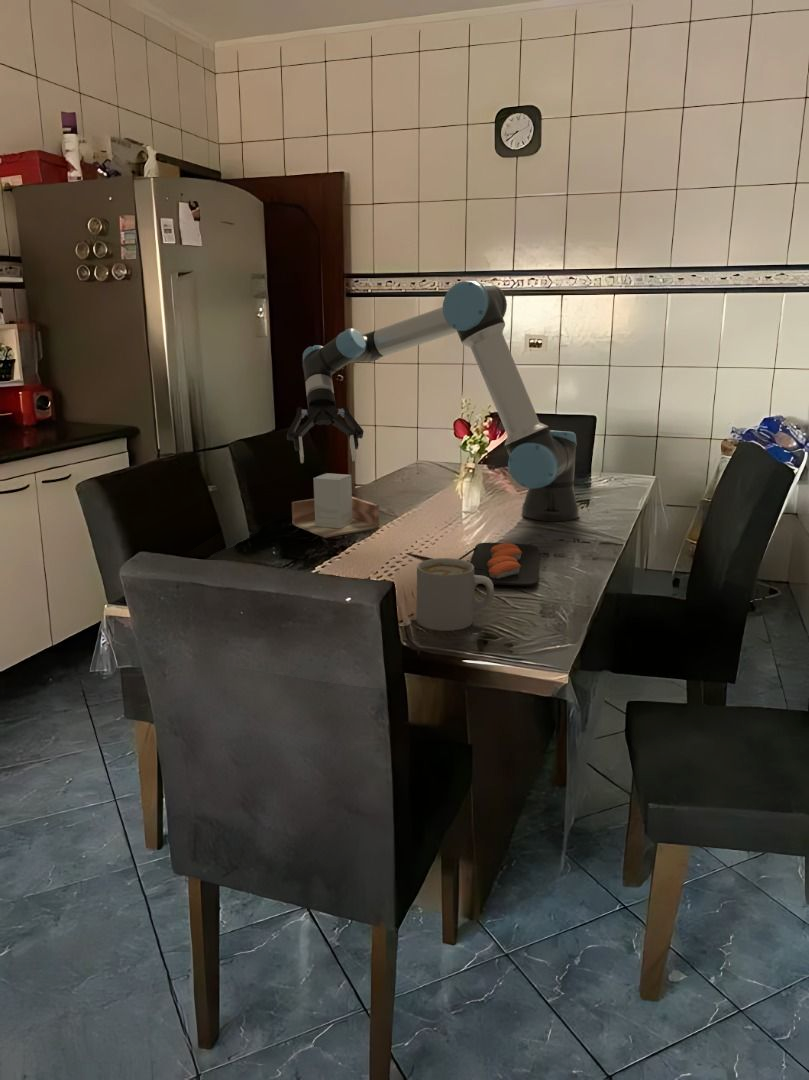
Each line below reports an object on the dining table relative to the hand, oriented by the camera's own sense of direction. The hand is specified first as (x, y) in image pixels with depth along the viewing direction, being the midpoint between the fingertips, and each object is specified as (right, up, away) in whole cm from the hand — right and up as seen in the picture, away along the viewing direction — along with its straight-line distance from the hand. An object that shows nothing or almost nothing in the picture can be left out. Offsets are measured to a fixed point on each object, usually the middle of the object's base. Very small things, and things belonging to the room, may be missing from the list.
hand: (328, 459), depth 209 cm
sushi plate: (+34, -27, -35) cm, 56 cm away
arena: (+2, -18, -3) cm, 18 cm away
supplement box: (+2, -17, -4) cm, 18 cm away
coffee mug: (+29, -36, -67) cm, 81 cm away
